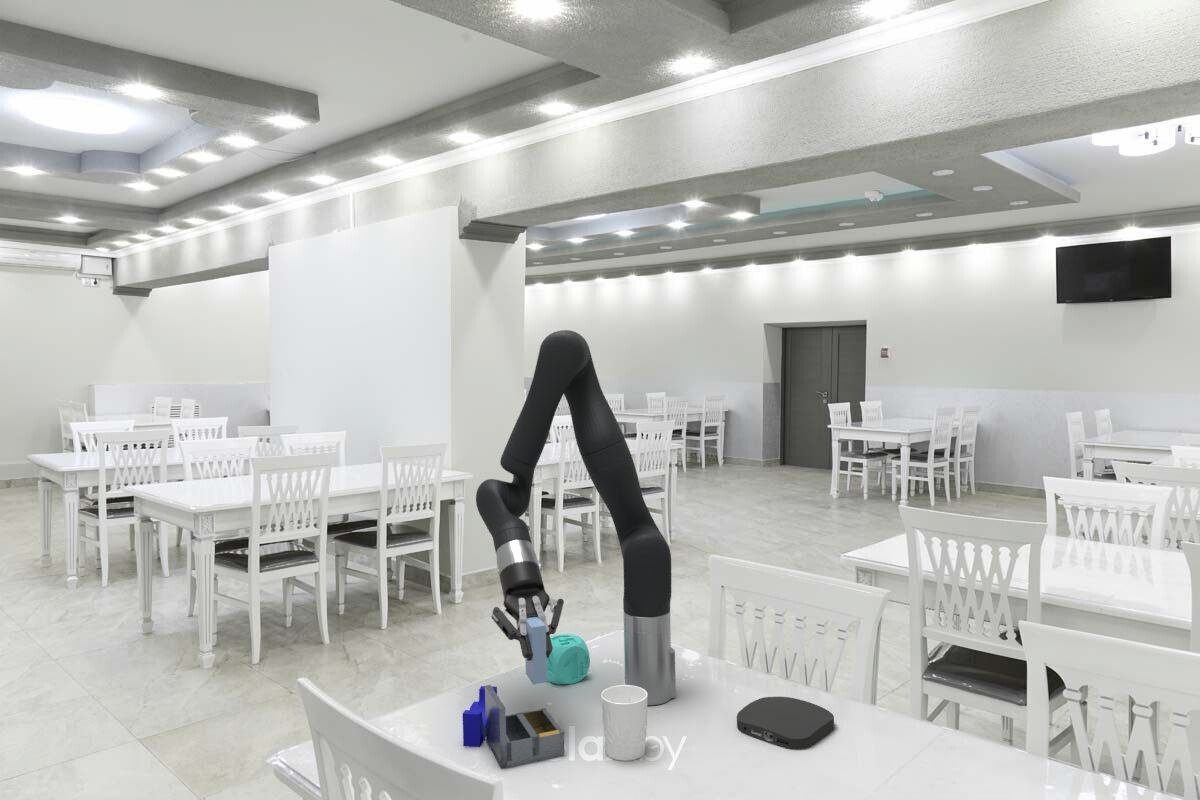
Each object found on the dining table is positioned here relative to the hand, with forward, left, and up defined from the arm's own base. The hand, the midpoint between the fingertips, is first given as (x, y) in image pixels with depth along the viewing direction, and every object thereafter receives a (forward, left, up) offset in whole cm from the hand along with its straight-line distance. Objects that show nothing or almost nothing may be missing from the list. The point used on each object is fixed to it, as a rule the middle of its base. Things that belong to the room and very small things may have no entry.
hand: (539, 656), depth 139 cm
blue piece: (+9, -10, -16) cm, 21 cm away
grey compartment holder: (+3, 0, -16) cm, 16 cm away
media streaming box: (-43, +11, -16) cm, 47 cm away
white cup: (-13, +8, -16) cm, 22 cm away
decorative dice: (-14, -27, -16) cm, 35 cm away
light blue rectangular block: (0, -2, -4) cm, 5 cm away
